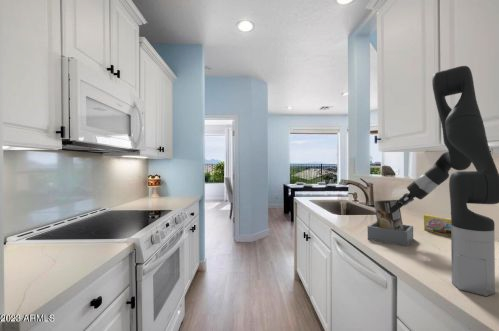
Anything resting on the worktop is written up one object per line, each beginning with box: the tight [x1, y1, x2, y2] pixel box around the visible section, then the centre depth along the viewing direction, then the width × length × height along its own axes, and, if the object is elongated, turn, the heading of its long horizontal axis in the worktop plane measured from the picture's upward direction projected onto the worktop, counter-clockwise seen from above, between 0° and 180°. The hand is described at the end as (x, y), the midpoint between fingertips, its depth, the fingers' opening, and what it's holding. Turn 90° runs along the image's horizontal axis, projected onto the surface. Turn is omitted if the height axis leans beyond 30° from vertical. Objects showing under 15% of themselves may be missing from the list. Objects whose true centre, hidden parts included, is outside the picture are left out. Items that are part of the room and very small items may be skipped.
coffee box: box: [373, 199, 404, 231], centre depth 117 cm, size 9×6×16 cm
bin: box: [367, 220, 414, 247], centre depth 116 cm, size 14×16×6 cm
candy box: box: [423, 214, 451, 237], centre depth 123 cm, size 16×2×8 cm, turn 21°
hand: (392, 210), depth 115 cm, fingers closed on coffee box, 7 cm apart
